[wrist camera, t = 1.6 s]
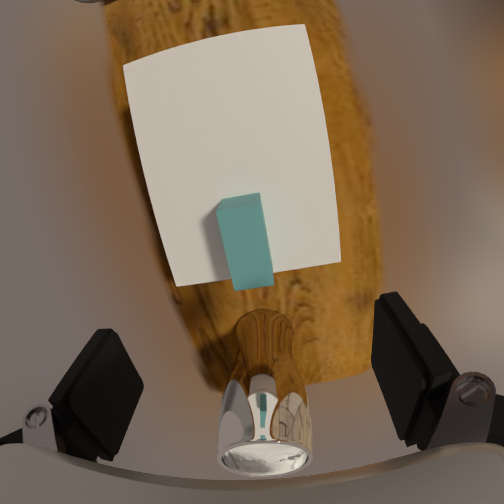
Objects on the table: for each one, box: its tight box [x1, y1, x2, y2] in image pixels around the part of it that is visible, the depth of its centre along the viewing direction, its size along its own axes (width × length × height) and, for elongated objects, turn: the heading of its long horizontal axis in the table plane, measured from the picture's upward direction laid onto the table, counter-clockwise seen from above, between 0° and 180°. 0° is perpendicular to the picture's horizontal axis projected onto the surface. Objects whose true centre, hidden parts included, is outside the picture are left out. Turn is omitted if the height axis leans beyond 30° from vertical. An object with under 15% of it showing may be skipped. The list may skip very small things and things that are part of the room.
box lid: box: [123, 24, 341, 291], centre depth 16 cm, size 16×12×4 cm
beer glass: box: [217, 310, 313, 478], centre depth 23 cm, size 7×7×15 cm
